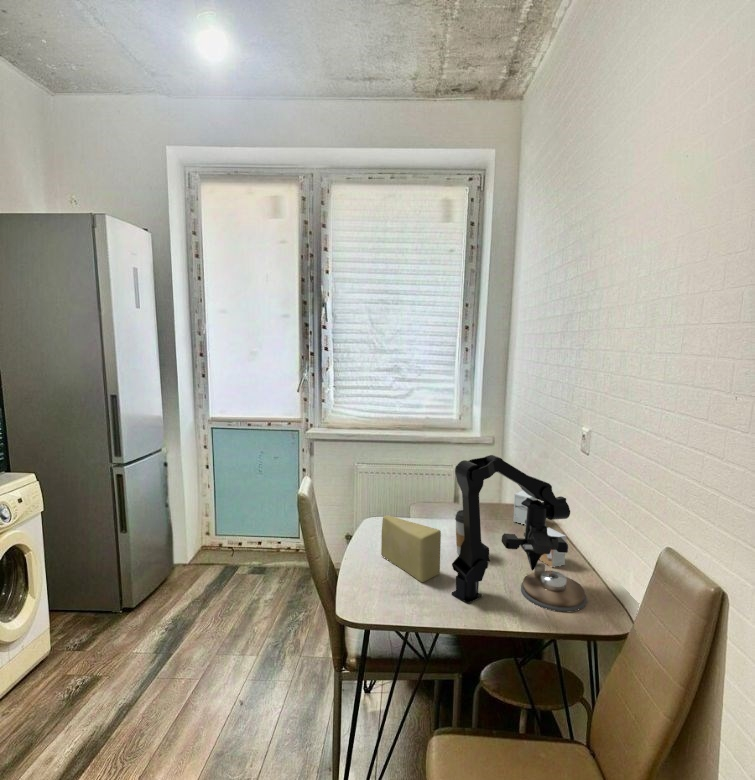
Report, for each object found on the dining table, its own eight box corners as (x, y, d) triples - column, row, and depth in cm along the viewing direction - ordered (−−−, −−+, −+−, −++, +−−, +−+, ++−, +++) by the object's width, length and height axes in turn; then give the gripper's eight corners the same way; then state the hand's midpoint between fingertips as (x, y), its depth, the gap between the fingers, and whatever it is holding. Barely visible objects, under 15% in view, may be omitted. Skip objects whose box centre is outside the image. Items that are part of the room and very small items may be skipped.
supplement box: (512, 522, 188) (513, 493, 187) (521, 518, 193) (522, 489, 192) (528, 527, 183) (530, 497, 182) (537, 523, 188) (538, 493, 187)
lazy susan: (539, 608, 122) (539, 591, 121) (513, 577, 139) (514, 562, 138) (597, 605, 124) (598, 588, 123) (565, 575, 140) (565, 560, 140)
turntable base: (566, 619, 119) (566, 616, 119) (506, 590, 133) (506, 586, 133) (597, 597, 130) (598, 594, 130) (539, 572, 145) (539, 569, 144)
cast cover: (547, 592, 127) (548, 582, 127) (536, 580, 134) (536, 570, 134) (570, 591, 128) (571, 581, 128) (558, 579, 135) (558, 569, 135)
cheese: (372, 560, 152) (372, 517, 151) (391, 551, 159) (392, 510, 158) (421, 584, 136) (422, 537, 135) (441, 573, 143) (442, 528, 142)
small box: (535, 558, 155) (536, 528, 154) (547, 555, 157) (549, 526, 156) (552, 568, 148) (553, 537, 147) (565, 565, 150) (566, 535, 149)
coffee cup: (476, 561, 152) (478, 519, 151) (452, 557, 154) (453, 515, 153) (479, 551, 160) (480, 511, 158) (456, 548, 162) (457, 508, 161)
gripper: (513, 528, 128) (509, 580, 129) (578, 532, 128) (573, 584, 129) (502, 515, 139) (499, 563, 140) (562, 518, 139) (558, 567, 140)
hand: (532, 569), depth 137 cm, fingers closed
